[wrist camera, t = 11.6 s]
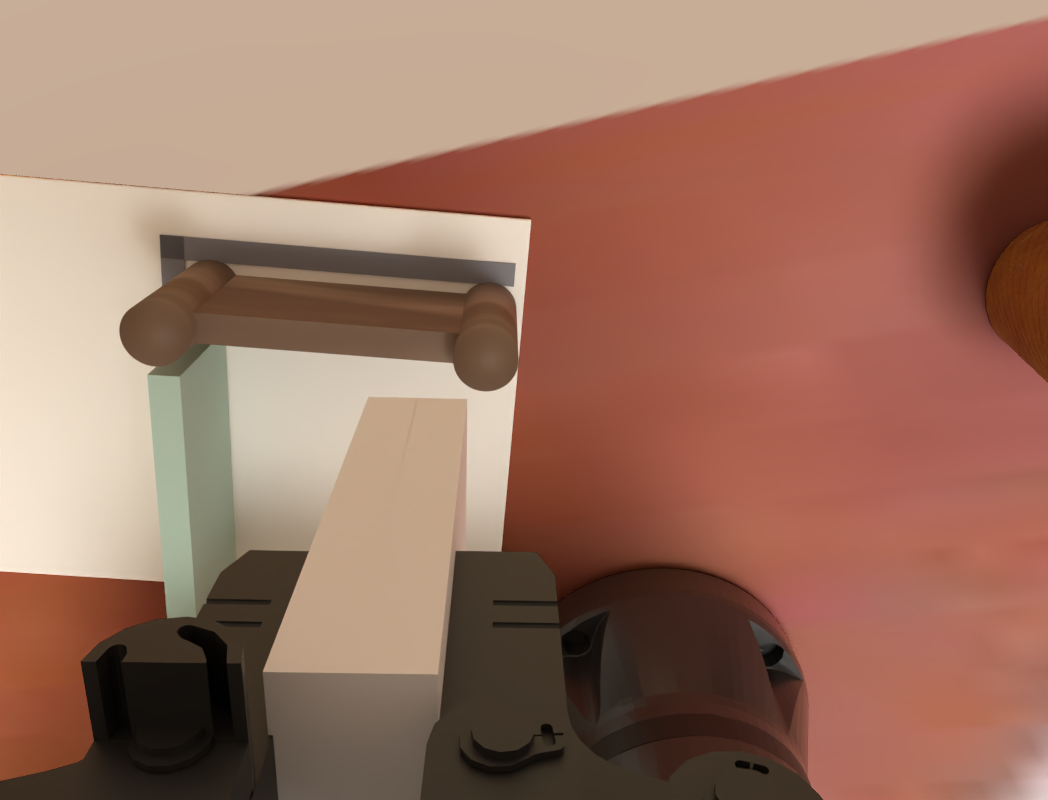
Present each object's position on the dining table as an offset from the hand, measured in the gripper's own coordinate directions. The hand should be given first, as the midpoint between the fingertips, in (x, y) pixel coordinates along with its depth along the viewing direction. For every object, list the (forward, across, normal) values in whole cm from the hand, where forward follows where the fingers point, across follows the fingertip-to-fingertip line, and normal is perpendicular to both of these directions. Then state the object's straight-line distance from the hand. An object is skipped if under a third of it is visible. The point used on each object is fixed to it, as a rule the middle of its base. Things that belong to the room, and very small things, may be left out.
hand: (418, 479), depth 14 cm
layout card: (+27, -13, -9) cm, 31 cm away
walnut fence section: (+27, -5, -4) cm, 28 cm away
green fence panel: (+26, -12, -12) cm, 31 cm away
